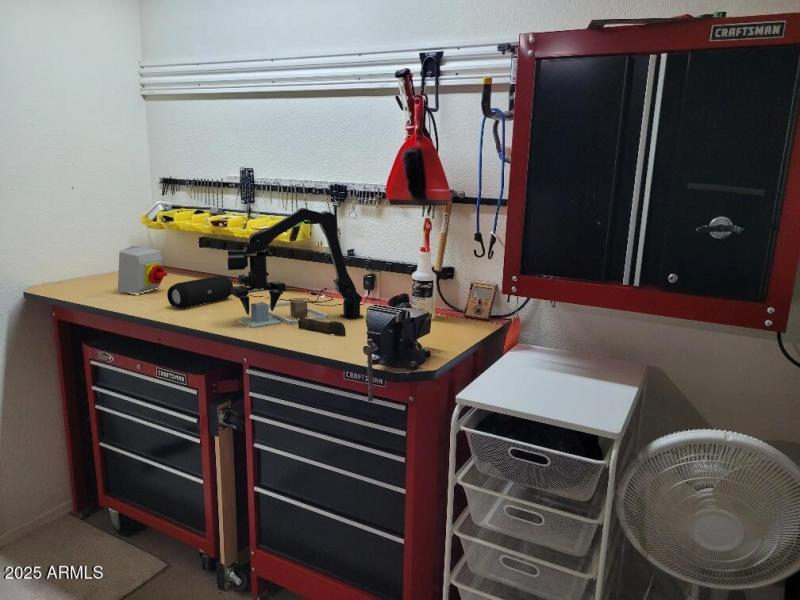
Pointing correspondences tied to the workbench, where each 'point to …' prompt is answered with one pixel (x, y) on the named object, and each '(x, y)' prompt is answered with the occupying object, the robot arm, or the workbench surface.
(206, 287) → the portable speaker
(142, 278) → the electrical switch box
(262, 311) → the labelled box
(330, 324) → the hand tool
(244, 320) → the mat
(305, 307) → the plain box
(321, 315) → the flat rectangular frame
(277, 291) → the robot arm
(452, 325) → the workbench surface
